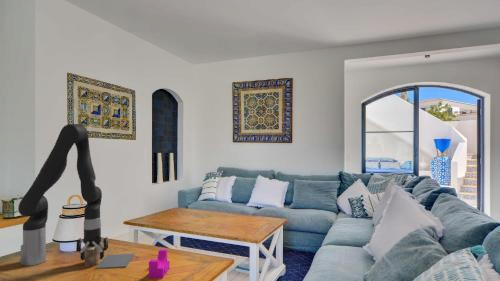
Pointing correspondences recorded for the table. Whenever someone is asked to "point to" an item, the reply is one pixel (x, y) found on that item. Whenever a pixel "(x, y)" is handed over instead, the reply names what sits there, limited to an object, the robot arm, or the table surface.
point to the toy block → (159, 265)
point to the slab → (91, 256)
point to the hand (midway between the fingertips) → (92, 259)
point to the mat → (115, 261)
